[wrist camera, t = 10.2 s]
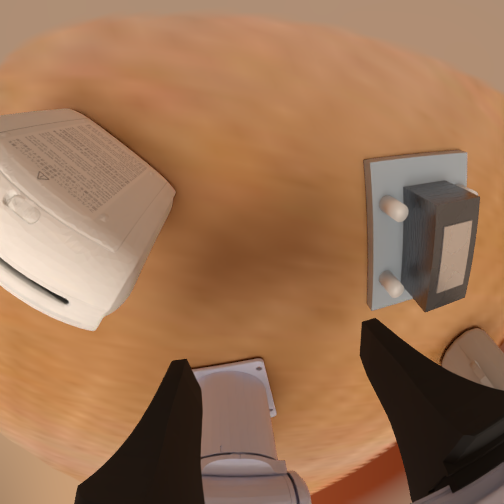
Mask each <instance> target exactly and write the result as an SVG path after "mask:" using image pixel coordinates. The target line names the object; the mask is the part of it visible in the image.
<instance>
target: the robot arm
mask: <svg viewBox="0 0 504 504" xmlns="http://www.w3.org/2000/svg"><path fill="white" fill-rule="evenodd" d="M360 357H361V360H362V363H363V366H364V369H365V371H366V374H367V376H368V378H369V380H370V382H371V384H372V386H373V388H374V390H375V392H376V394H377V396H378V398H379V400H380V402H381V404H382V406H383V408H384V410H385V412H386V414H387V416H388V418H389V421H390V423H391V426H392V429H393V431H394V434H395V437H396V440H397V443H398V446H399V449H400V453H401V456H402V460H403V464H404V468H405V472H406V475H407V480H408V485H409V490H410V496H411V500H412V503H410V504H504V391H503V390H499V389H495V388H491V387H488V386H485V385H482V384H479V383H476V382H473V381H471V380H468V379H466V378H464V377H462V376H459V375H457V374H455V373H453V372H451V371H449V370H447V369H445V368H443V367H442V366H440V365H438V364H436V363H435V362H433V361H432V360H430V359H428V358H427V357H425V356H424V355H422V354H421V353H420V352H418V351H417V350H415V349H414V348H413V347H411V346H410V345H409V344H407V343H406V342H405V341H403V340H402V339H401V338H400V337H398V336H397V335H396V334H395V333H393V332H392V331H391V330H390V329H388V328H387V327H386V326H385V325H384V324H382V323H381V322H380V321H379V320H377V319H376V318H374V319H370V320H367V321H363V322H362V330H361V345H360ZM276 414H277V413H276V409H275V405H274V401H273V397H272V393H271V389H270V385H269V381H268V377H267V373H266V369H265V365H264V361H263V360H262V359H260V358H257V359H252V360H246V361H241V362H235V363H230V364H224V365H218V366H212V367H205V368H199V369H191V367H190V365H189V363H188V361H187V359H182V360H175V361H172V362H171V364H170V366H169V368H168V370H167V372H166V374H165V376H164V378H163V380H162V382H161V384H160V386H159V388H158V390H157V392H156V394H155V396H154V398H153V400H152V401H151V403H150V405H149V407H148V408H147V410H146V412H145V413H144V415H143V417H142V418H141V420H140V421H139V423H138V424H137V426H136V427H135V429H134V430H133V432H132V433H131V434H130V436H129V437H128V438H127V440H126V441H125V442H124V443H123V445H122V446H121V447H120V448H119V449H118V450H117V452H116V453H115V454H114V455H113V456H112V457H111V458H110V459H109V460H108V461H107V462H106V463H105V464H104V465H103V466H102V467H101V468H100V469H99V470H98V471H96V472H95V473H94V474H93V475H92V476H90V477H89V478H88V479H86V480H85V481H84V482H83V483H81V484H80V485H78V488H77V492H76V497H75V503H74V504H311V498H310V493H309V490H308V487H307V485H306V483H305V481H304V480H303V479H302V478H301V477H300V476H299V475H298V474H297V473H296V472H295V471H287V468H286V463H285V461H284V460H278V458H277V452H276V446H275V440H274V435H273V429H272V423H271V417H274V416H276Z"/></svg>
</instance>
